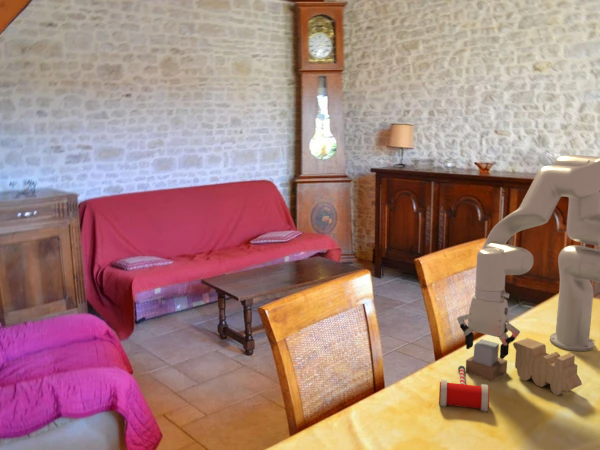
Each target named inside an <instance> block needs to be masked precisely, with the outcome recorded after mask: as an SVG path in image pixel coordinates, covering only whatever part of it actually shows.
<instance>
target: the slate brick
mask: <svg viewBox="0 0 600 450" xmlns="http://www.w3.org/2000/svg"><path fill="white" fill-rule="evenodd" d="M499 348H500V343H497V342H494V341H490V340H486V339H480V340H479V341H477V342H476V343H475V344H473V356H474V362H477V363H480V364H484V365H487V366H492V365H493V364H494V363H496V362H497V361H498V358H499V352H500V351H499Z"/></svg>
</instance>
